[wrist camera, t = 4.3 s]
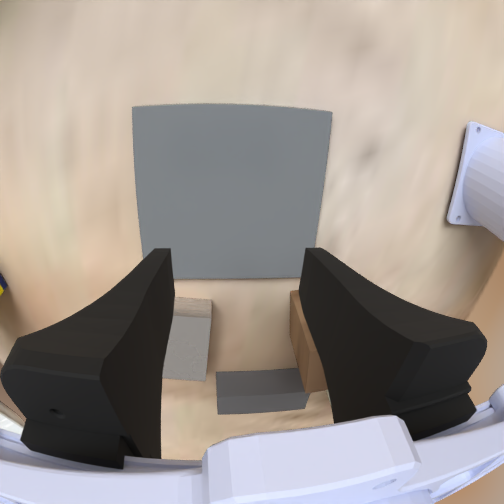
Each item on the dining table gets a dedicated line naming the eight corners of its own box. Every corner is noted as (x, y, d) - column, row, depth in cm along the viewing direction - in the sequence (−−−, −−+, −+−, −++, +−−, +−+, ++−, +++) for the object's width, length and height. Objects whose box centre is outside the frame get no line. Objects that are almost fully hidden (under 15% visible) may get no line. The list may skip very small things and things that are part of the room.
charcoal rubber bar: (303, 365, 28) (310, 391, 25) (298, 384, 29) (304, 408, 27) (215, 369, 27) (216, 396, 24) (216, 388, 28) (217, 414, 26)
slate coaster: (329, 111, 17) (332, 112, 16) (306, 272, 22) (309, 277, 22) (134, 106, 15) (132, 107, 15) (147, 273, 21) (146, 278, 20)
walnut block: (348, 283, 23) (379, 338, 18) (341, 326, 25) (366, 381, 20) (290, 290, 23) (310, 351, 18) (289, 334, 25) (305, 393, 20)
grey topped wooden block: (143, 290, 22) (137, 311, 20) (211, 296, 23) (211, 318, 21) (148, 354, 25) (144, 376, 23) (205, 359, 26) (205, 381, 24)
